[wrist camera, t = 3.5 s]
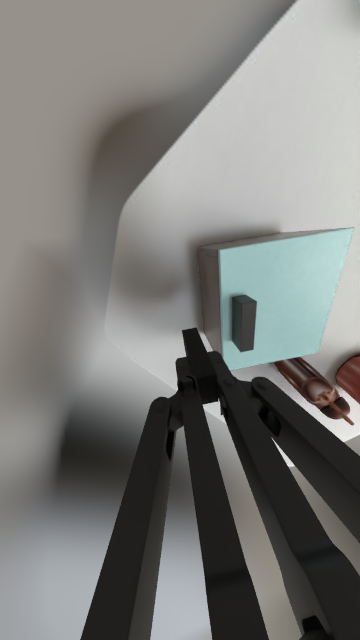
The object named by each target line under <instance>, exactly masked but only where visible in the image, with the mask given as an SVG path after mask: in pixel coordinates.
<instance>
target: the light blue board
mask: <svg viewBox="0 0 360 640" xmlns="http://www.w3.org/2000/svg"><path fill="white" fill-rule="evenodd" d="M353 231H354V227H353V228H345V229H339V230H333V231H327V232H321V233H315V234H309V235H303V236H297V237H291V238H285V239H279V240H273V241H267V242H261V243H256V244H250V245H244V246H238V247H232V248H226V249H220V250H218V263H219V290H220V318H221V345H222V357H223V359H224V361H225V363H226V365H227V366H228V368H229V370H235V369H240V368H245V367H250V366H255V365H260V364H265V363H270V362H275V361H280V360H285V359H290V358H295V357H300V356H305V355H310V354H315V353H318V349H319V346H320V342H321V339H322V336H323V332H324V329H325V326H326V322H327V319H328V315H329V312H330V309H331V305H332V302H333V299H334V295H335V292H336V289H337V285H338V282H339V278H340V275H341V272H342V268H343V265H344V262H345V258H346V255H347V252H348V248H349V245H350V241H351V238H352V235H353Z"/></svg>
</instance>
